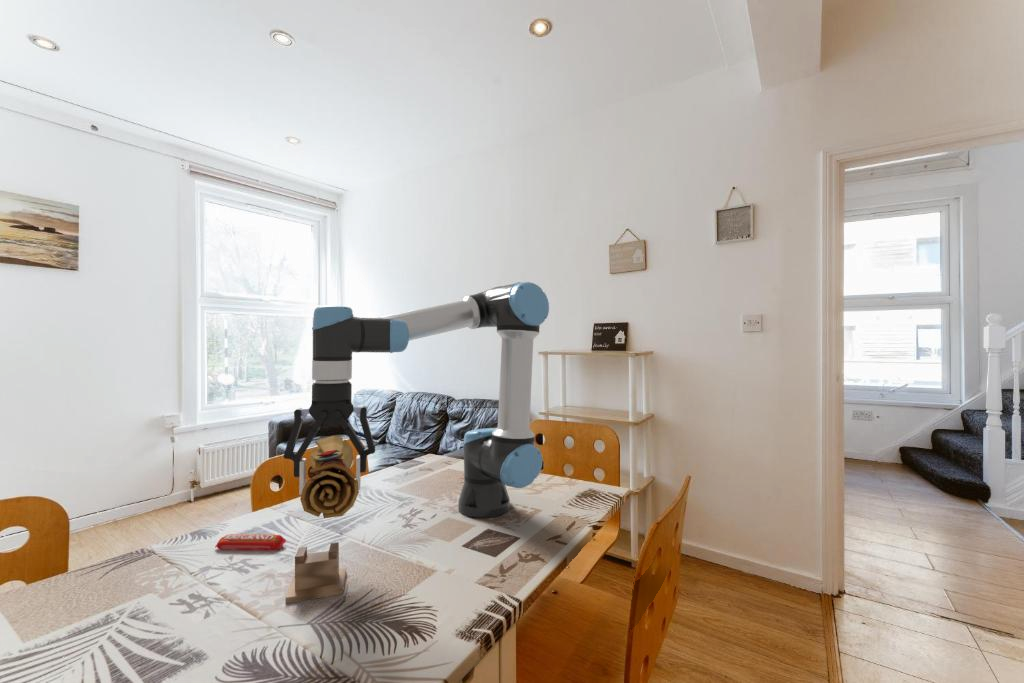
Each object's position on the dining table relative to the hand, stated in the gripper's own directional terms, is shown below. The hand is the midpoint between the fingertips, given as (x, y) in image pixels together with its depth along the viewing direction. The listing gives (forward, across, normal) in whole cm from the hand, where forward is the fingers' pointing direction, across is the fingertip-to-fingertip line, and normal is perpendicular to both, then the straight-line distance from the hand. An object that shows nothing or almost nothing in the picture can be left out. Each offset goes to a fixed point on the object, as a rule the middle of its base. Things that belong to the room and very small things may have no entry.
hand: (330, 490), depth 88 cm
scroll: (+1, 0, 0) cm, 1 cm away
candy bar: (+19, +20, -21) cm, 35 cm away
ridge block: (+18, +2, +2) cm, 19 cm away
